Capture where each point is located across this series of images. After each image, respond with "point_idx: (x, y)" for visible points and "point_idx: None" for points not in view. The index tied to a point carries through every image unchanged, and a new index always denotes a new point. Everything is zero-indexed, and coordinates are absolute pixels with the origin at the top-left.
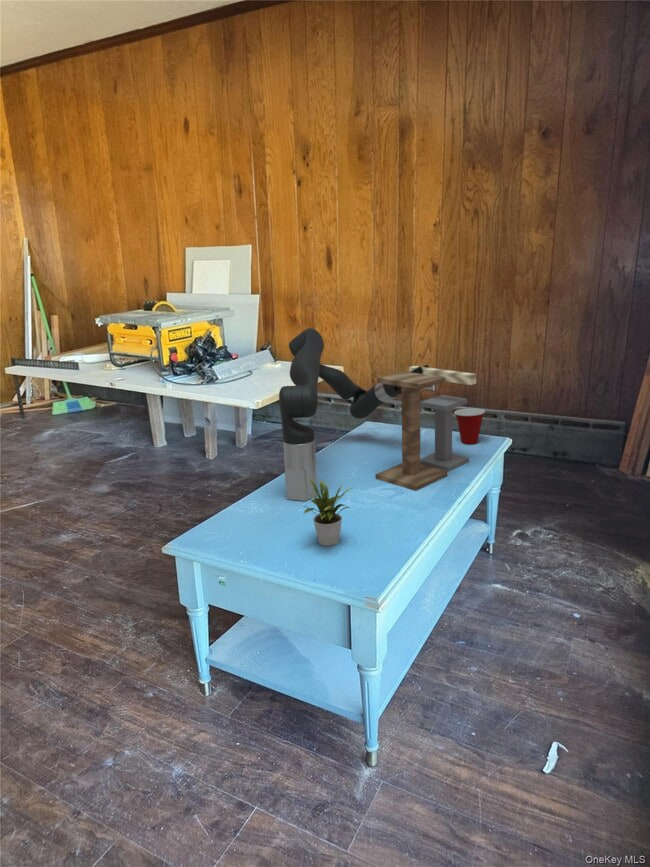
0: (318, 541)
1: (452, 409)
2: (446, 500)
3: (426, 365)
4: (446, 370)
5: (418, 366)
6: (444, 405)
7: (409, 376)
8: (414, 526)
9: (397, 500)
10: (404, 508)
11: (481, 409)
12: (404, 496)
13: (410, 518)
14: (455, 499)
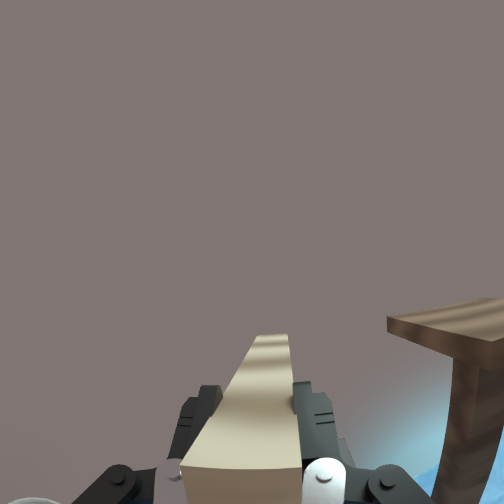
0: None
1: None
2: (432, 477)
3: (219, 387)
4: (255, 357)
5: (208, 435)
6: (339, 443)
7: (484, 314)
8: (501, 435)
9: (501, 486)
10: (499, 467)
11: (17, 501)
12: (485, 496)
13: (500, 447)
14: (418, 477)
